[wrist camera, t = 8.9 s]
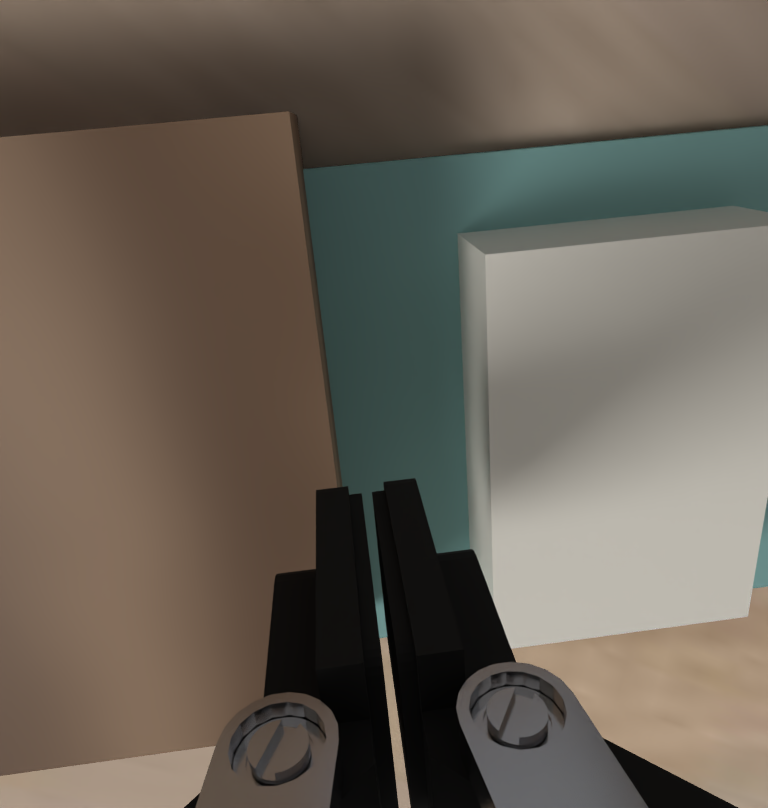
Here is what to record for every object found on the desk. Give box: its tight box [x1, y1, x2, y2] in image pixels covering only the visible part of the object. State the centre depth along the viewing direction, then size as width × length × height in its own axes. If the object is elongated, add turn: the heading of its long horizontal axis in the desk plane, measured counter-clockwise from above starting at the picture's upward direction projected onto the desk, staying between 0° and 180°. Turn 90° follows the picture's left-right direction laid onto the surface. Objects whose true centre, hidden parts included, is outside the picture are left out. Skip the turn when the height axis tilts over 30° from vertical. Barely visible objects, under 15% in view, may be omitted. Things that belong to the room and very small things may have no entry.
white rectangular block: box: [457, 206, 768, 649], centre depth 15 cm, size 6×9×2 cm, turn 5°
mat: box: [303, 125, 768, 638], centre depth 16 cm, size 14×12×1 cm
